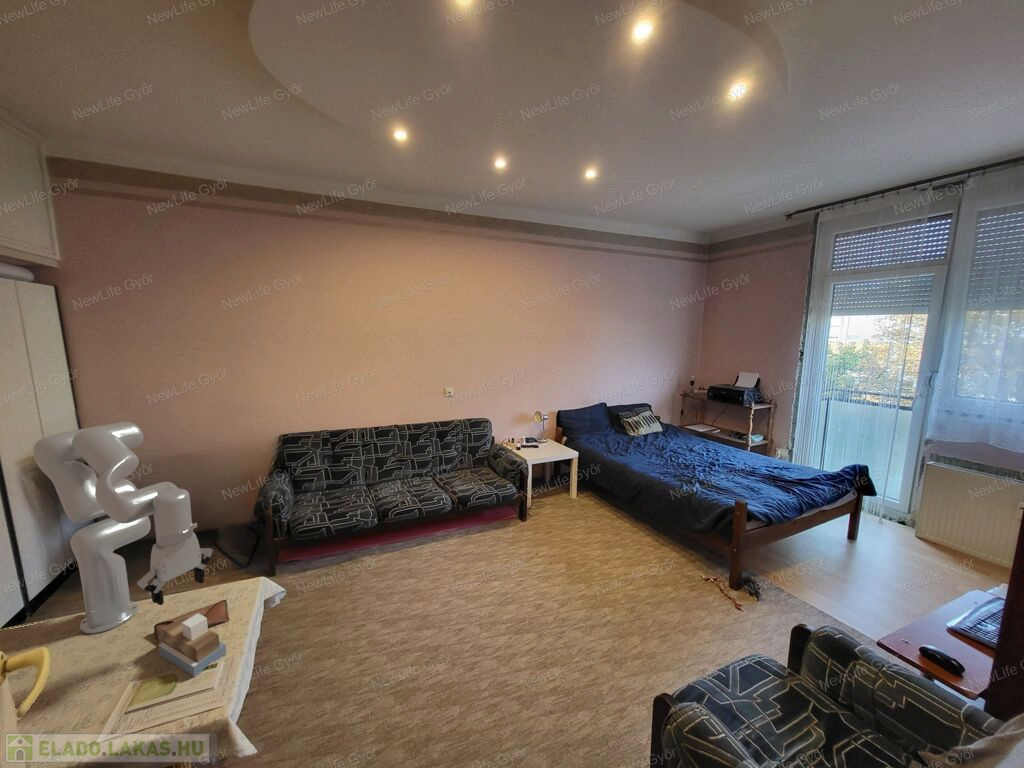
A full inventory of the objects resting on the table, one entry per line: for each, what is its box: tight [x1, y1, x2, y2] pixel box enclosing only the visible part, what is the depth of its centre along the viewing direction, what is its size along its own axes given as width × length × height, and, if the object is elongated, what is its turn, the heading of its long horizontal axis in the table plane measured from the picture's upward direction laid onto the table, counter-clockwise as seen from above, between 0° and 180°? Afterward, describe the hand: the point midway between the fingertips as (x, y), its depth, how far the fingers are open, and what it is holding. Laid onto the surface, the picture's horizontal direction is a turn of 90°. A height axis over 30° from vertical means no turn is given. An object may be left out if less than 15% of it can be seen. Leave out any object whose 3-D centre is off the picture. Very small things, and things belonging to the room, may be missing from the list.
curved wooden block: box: [162, 616, 220, 662], centre depth 111 cm, size 16×6×4 cm, turn 67°
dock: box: [158, 641, 227, 677], centre depth 111 cm, size 16×8×3 cm, turn 67°
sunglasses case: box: [153, 599, 231, 650], centre depth 121 cm, size 18×7×7 cm, turn 133°
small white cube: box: [182, 613, 209, 641], centre depth 110 cm, size 4×4×4 cm
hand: (179, 591), depth 110 cm, fingers open, 9 cm apart
